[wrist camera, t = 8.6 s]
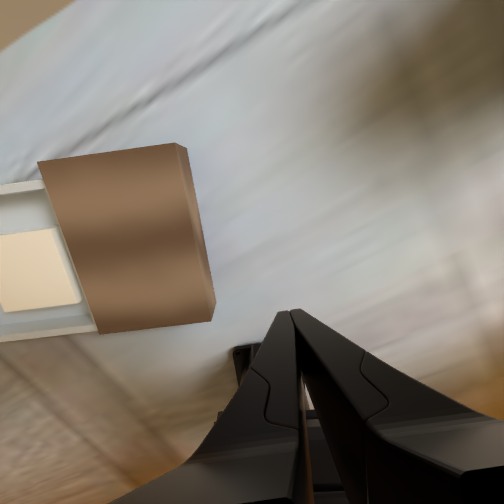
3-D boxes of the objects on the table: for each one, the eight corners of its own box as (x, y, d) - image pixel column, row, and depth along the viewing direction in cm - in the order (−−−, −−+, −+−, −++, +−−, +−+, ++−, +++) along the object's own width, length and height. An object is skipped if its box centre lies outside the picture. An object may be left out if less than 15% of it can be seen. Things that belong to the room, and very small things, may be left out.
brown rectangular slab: (216, 302, 22) (211, 321, 19) (118, 314, 22) (99, 334, 19) (186, 148, 18) (174, 142, 15) (69, 164, 18) (36, 161, 16)
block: (93, 291, 21) (78, 303, 19) (26, 300, 21) (4, 312, 19) (69, 224, 19) (49, 229, 17) (-3, 233, 20) (-31, 239, 18)
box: (118, 314, 22) (103, 329, 20) (-8, 329, 23) (-37, 346, 20) (74, 178, 19) (49, 178, 16) (-75, 198, 19) (-119, 201, 17)
